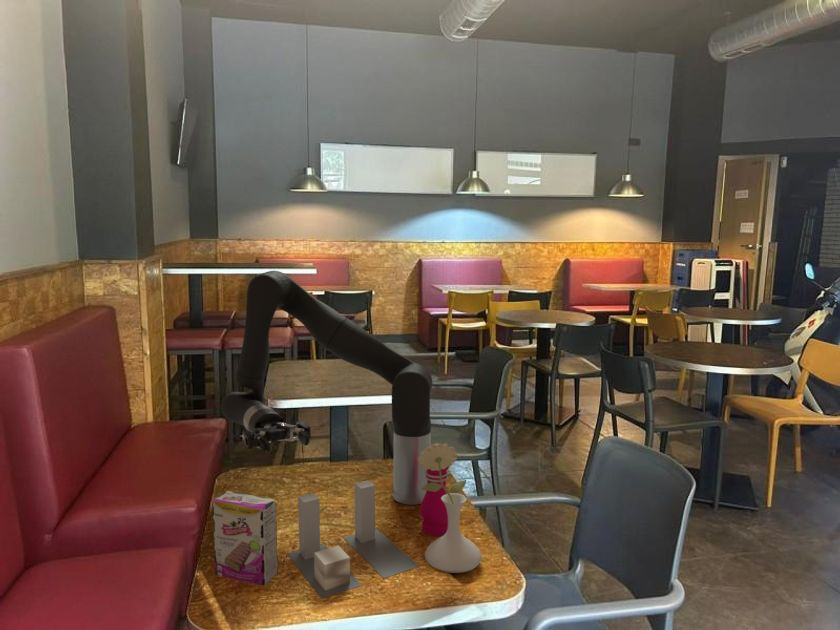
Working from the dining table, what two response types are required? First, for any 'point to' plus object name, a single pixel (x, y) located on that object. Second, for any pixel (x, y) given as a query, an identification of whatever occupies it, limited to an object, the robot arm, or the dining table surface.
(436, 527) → the pepper mill
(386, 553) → the grey base with post
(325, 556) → the pale block
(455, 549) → the flower in vase
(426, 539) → the dining table surface
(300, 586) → the dining table surface
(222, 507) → the candy bar box
